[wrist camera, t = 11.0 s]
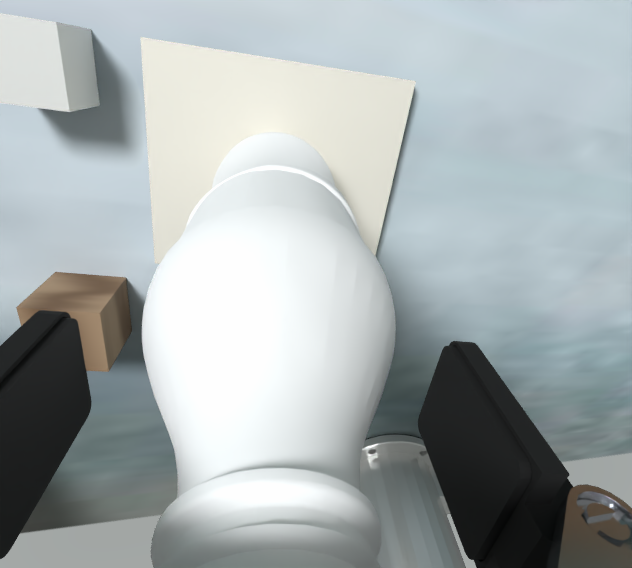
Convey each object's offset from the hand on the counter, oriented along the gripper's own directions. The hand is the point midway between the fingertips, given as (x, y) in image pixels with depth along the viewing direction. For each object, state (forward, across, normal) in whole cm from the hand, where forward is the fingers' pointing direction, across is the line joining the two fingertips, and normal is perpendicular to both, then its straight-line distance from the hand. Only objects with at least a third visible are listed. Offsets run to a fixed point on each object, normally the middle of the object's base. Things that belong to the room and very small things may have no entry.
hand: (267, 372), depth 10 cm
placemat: (+19, 0, -1) cm, 19 cm away
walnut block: (+20, +13, +11) cm, 26 cm away
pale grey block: (+19, +13, -6) cm, 24 cm away
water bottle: (+18, 0, 0) cm, 19 cm away
